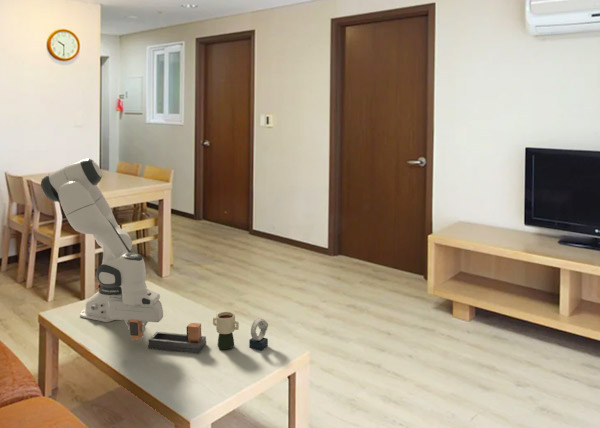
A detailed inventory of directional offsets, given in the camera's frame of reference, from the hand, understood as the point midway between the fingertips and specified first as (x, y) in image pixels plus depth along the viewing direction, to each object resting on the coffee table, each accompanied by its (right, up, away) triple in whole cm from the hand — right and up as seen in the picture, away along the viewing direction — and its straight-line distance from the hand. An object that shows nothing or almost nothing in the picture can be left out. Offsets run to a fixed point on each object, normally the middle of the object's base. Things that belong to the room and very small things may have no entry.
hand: (137, 330), depth 192 cm
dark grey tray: (+15, -6, +1) cm, 16 cm away
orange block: (0, -3, +1) cm, 3 cm away
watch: (+46, -7, +2) cm, 46 cm away
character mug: (+33, -7, +2) cm, 34 cm away
